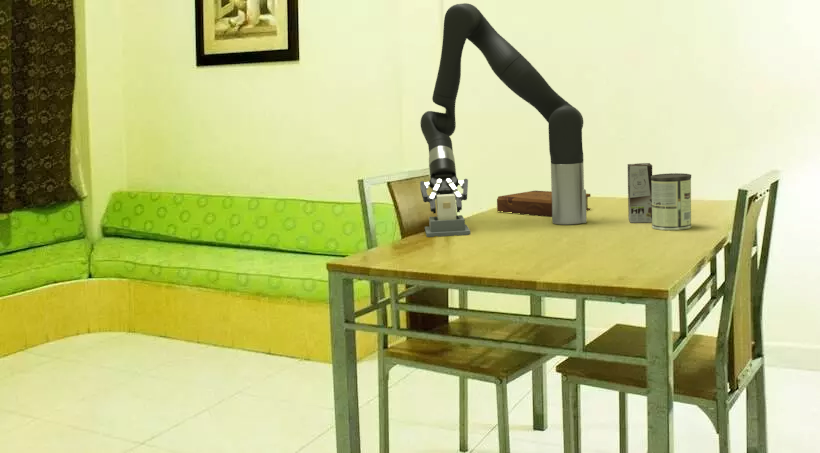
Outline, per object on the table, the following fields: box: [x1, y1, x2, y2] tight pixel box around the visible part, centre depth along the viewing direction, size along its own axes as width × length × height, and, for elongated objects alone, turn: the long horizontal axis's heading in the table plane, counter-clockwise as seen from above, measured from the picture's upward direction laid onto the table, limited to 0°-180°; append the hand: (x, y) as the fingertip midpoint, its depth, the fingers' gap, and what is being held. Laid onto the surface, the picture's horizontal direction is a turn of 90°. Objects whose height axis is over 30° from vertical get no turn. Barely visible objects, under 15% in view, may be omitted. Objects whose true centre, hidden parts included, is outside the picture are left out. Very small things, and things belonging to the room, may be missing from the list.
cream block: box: [436, 194, 457, 220], centre depth 239 cm, size 5×6×10 cm
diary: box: [496, 190, 592, 218], centre depth 273 cm, size 23×19×6 cm
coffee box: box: [627, 162, 653, 224], centre depth 243 cm, size 9×6×16 cm
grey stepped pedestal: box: [424, 214, 471, 238], centre depth 240 cm, size 12×13×4 cm
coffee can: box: [651, 172, 692, 231], centre depth 228 cm, size 10×10×14 cm
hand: (446, 210), depth 237 cm, fingers open, 6 cm apart
